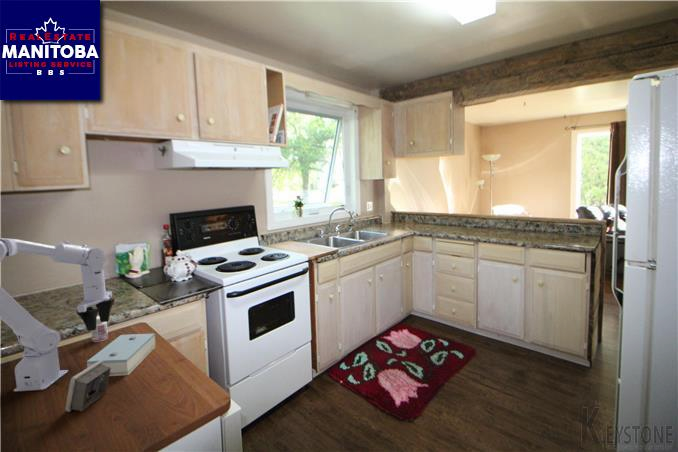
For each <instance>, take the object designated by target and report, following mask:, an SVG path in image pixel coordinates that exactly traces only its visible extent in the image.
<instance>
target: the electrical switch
mask: <svg viewBox="0 0 678 452" xmlns="http://www.w3.org/2000/svg"><path fill="white" fill-rule="evenodd" d="M103 363H104V362H103V361H100V360H99V361H98V362H96V363H95V364H93V365H91V366H90V367H88V368H85V369H83V370H82V371H81V372H79V373H77V374H75V375H74V376H72V377H71V379H70V380H69V387H68V391H67V398H66V403H65V411H66V412H68V413H70V412H71V411H73V410H74V411H79V412H83V411H84V410H85V409H88V407H89V406H91V405H92V404H94V403H95V402H97V401H98V400H99V399H100V398H102V397H103V396H104V395H105V394H106V393H107V391H108V390H107V389H108V383H109V378H110V376H109V374H110V369H111V368H110V367H107V366H105V365H103ZM103 375H104V376H103ZM90 404H91V405H90Z"/></svg>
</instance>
